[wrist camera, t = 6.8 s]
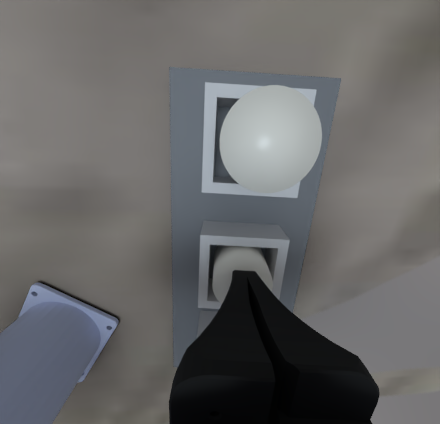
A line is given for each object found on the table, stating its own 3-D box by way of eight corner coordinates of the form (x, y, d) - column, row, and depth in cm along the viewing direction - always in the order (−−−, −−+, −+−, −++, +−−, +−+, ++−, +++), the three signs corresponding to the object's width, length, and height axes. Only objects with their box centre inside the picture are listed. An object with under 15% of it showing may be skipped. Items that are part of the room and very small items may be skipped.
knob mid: (244, 283, 16) (250, 319, 13) (205, 262, 16) (201, 293, 12) (271, 249, 15) (285, 278, 12) (231, 225, 15) (234, 248, 11)
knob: (262, 191, 11) (279, 210, 8) (207, 155, 11) (200, 159, 7) (304, 132, 10) (343, 126, 7) (246, 90, 10) (258, 60, 6)
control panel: (276, 356, 21) (288, 404, 17) (176, 351, 20) (166, 398, 17) (328, 85, 13) (371, 61, 9) (175, 75, 13) (156, 46, 9)
